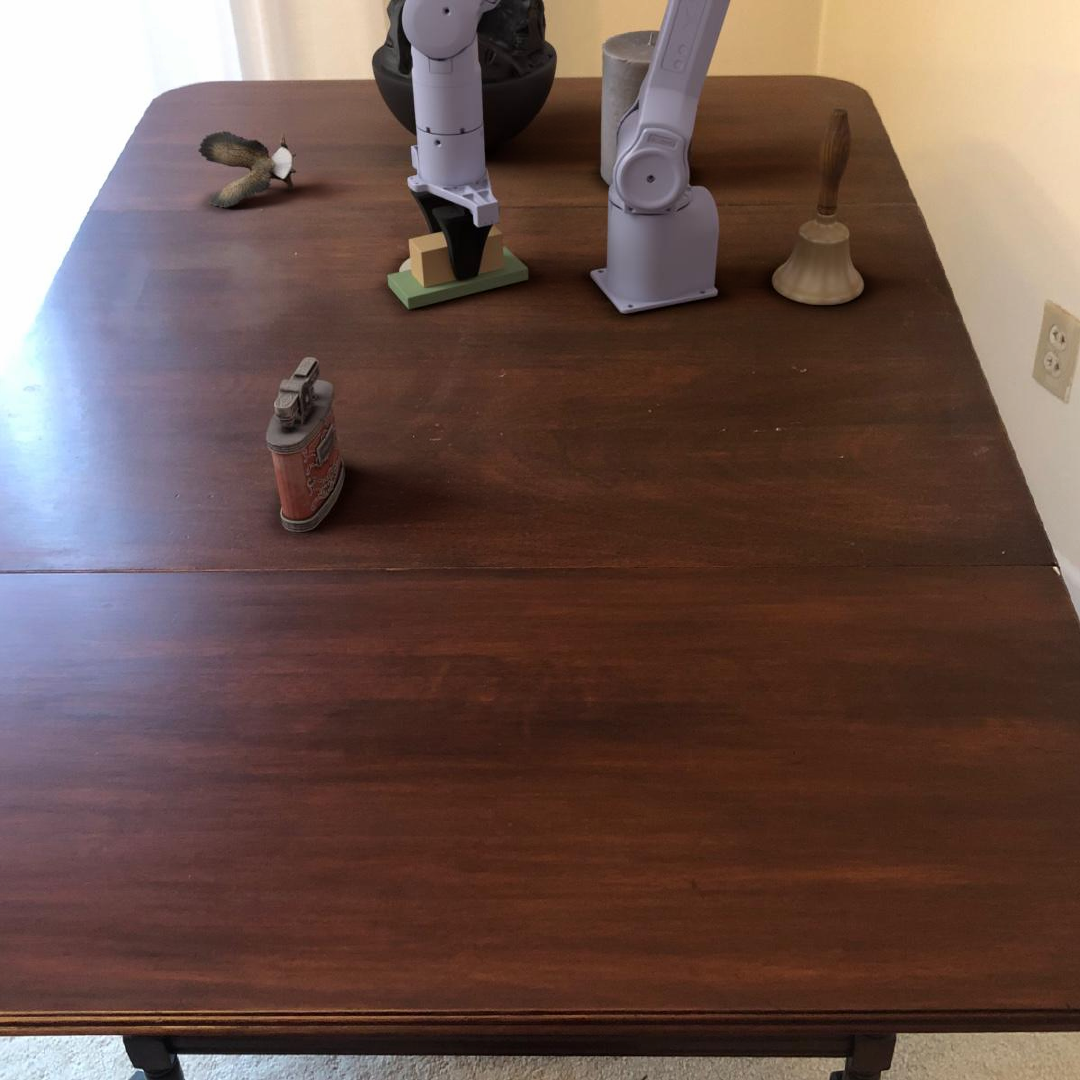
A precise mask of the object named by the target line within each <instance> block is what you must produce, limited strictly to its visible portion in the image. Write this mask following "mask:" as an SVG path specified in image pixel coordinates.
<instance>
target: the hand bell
mask: <svg viewBox="0 0 1080 1080" xmlns="http://www.w3.org/2000/svg"><path fill="white" fill-rule="evenodd" d="M848 113H849V112H848V110H847V109H845V108H834V109H832V110H831V113H830V116H829V118H828V121H827V123H826V125H825V127H824V129H823V132H822V134H821V138H820V142H819V149H818V150H819V151H818V167H819V174H820V183H821V184H820V191H819V196H818V201H817V202H818V204H817V207H816V211H817V212H816V216H815V219H812V220H809V221H806V222H805V223H803V224H802V225H801V226H800V227H799V229H798V234H797V236H796V237H797V238H796V241H795V244H794V247H793V250H792V252H791V254H790V256H789V258H788V259H787V261H785V262H784V263H782V264H781V265H779V267H778V268H777V269H776V270H775V271H774V273H773V275H772V276H771V284H772V287H773V288H774V290H775V291H776V292H777V293H778V294H780V295H782V296H783V297H785V298H787V299H789V300H790V301H791V300H792V301H794V302H798V303H801V304H806V305H811V306H834V305H840V304H841V305H842V304H845V303H848V302H850V301H853V300H854V299H856V298H857V297H859V296H860V295H861V294H862V293H863V291H864V288H865V283H864V280H863V277H862V275H861V274H860V272H859V271H858V270H857V269H856V268H855V267H854V264H853V262H852V258H851V251H850V249H851V248H850V235H851V233H850V231H849V228H848V227H847V226H846V225H845V224H843V223H842V222H838V221H837V211H838V202H839V201H838V200H839V199H838V198H839V188H840V183H841V181H842V177H843V175H844V173H845V171H846V169H847V166H848V163H849V158H850V154H851V149H852V134H851V129H850V128H851V127H850V123H849V117H848V116H849V115H848Z"/></svg>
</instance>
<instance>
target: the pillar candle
mask: <svg viewBox="0 0 1080 1080" xmlns="http://www.w3.org/2000/svg"><path fill="white" fill-rule="evenodd" d="M659 31H660V30H653V29H651V30H647V29H646V30H636V31H628V32H624V33H617V34H615V35H613V36H609V37H608V38H607V39H606V40H605V42H603V43H602V44H601V46H602V47H601V50H602V54H601V57H602V58H601V59H602V60H601V61H602V62H601V63H602V66H601V67H602V68H601V112H600V113H601V114H600V115H601V118H600V119H601V122H600V123H601V124H600V175H601V178H602V179H603V181H604V182H605V183H606V184H607V185H608V186H609V187H610V186H611V184H612V183H613V170H614V166H615V164H616V157H617V145H616V134H617V128H618V125H619V123H620V121H621V119H622V118H623V116H624V115H625V114H626V113H627V112H628V111H629V110H630V109H631V108H632V106H633V105H634V103H635V102H636V100H637V98H638V95H639V92H640V88H641V85H642V83H643V81H644V78H645V76H646V74H647V72H648V69H649V66H650V62H651V59H652V55H653V52H654V48H655V45H656V41H657V38H658V35H659ZM692 140H693V136H692V137H691V140H690V143H689V147H688V151H687V161H688V166H689V167H690V165H691V156H692ZM690 177H691V169H690V168H689V179H690Z"/></svg>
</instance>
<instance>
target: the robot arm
mask: <svg viewBox="0 0 1080 1080" xmlns="http://www.w3.org/2000/svg"><path fill="white" fill-rule="evenodd" d="M500 1H501V0H406V2H405V4H404V8H403V14H402V24H403V29H404V32H405V35H406V37H407V39H408V40H409V42H410V43H411V46H412V47H411V54H412V58H413V68H412V80H413V93H414V105H415V118H416V129H417V137H416V140H417V144H415V145H411V146H410V151H411V161H412V162H411V163H412V167H413V168H414V169H415V170H416V172H417V173H416V175H410V176H409V177H407V186H408V187H409V189H410V193H411V195H412V197H413V198H414V200H415V201H416V203H417V205H418V207H419V208H420V211H421V213H422V214H423V216H424V219H425V222H426V225H427V227H428V230H429V233H430V234H433V233H438V232H442V231H443V234H444V237H445V240H446V243H447V247H448V252H449V257H450V263H451V267H452V270H453V273H454V276H455V278H456V279H457V280H458V281H460V280H464V279H469V278H473V277H477V276H478V273H479V270H480V265H481V260H482V256H483V251H484V247H485V243H486V240H487V237H488V234H489V232H490V230H491V228H492V226H493V225H495V224H499V223H500V206H499V200H497V198H495V196H494V194H493V190H492V185H491V180H490V176H489V170H488V169H487V167H486V153H485V151H486V150H485V149H484V127H483V106H482V84H481V67H480V64H479V61H478V42H477V33H476V29H477V24H478V22H479V21H480V19H481V16H482V13H483V12H486V11H488V10H491V9H493V8H495V7H496V5H497V4H498V3H499V2H500ZM731 1H732V0H667V4H666V7H665V11H664V14H663V16H662V17H663V18H662V20H661V24H660V28H659V30H658V31H659V35H658V38H657V41H656V45H655V48H654V52H653V55H652V59H651V62H650V66H649V69H648V72H647V74H646V76H645V78H644V81H643V83H642V85H641V88H640V92H639V95H638V98H637V100H636V102H635V103H634V105H633V106H632V108H631V109H630V110H629V111H628V112H627V113H626V114H625V115H624V116H623V118H622V119H621V121H620V123H619V125H618V128H617V134H616V145H617V157H616V164H615V166H614V170H613V183H612V184H611V186H610V185H609V187H608V198H607V200H608V201H607V203H608V204H607V235H606V236H607V238H606V239H607V240H606V241H607V242H606V243H607V244H606V267H604V268H599V269H594V270H591V271H590V274H589V277H590V278H591V279H592V280H593V282H595V284H596V285H597V286H598V287H599V288H600V290H601V291H602V292H603V293H604V294H605V295H606V297H607V298H608V299H609V300H610V301H611V303H612V304H613V305H614V306H615V308H616V309H617V310H618V311H619V312H620V313H621V314H624V315H627V314H631V313H632V314H633V313H637V312H642V311H646V310H652V309H657V308H662V307H663V308H664V307H667V306H672V305H673V306H674V305H677V304H683V303H689V302H693V301H698V300H704V299H709V298H714V297H716V296H718V293H719V292H718V289H717V287H715V283H716V282H715V281H716V271H717V259H718V258H717V256H718V246H719V237H720V236H719V235H720V220H719V219H720V218H719V213H718V208H717V204H716V201H715V199H714V197H713V195H712V194H711V192H710V191H709V190H708V189H707V188H706V187H704V186H703V185H694V186H693V185H691V184H690V178H689V169H690V165H689V166H688V161H687V151H688V147H689V143H690V140H691V137H692V138H693V133H694V127H695V122H696V117H697V111H698V107H699V106H698V105H699V101H700V97H701V94H702V91H703V89H704V84H705V81H706V78H707V76H708V72H709V69H710V65H711V63H712V60H713V56H714V53H715V50H716V47H717V44H718V41H719V39H720V34H721V33H722V29H723V25H724V23H725V19H726V16H727V13H728V11H729V7H730V4H731ZM691 141H692V140H691Z"/></svg>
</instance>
